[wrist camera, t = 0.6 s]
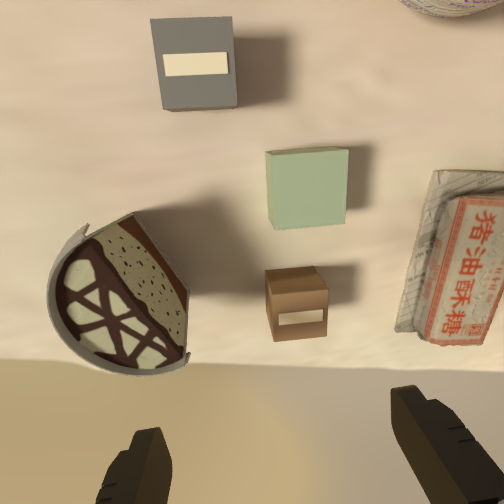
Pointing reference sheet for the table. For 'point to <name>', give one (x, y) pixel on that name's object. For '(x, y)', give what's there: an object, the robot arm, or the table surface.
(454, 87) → the table surface
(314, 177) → the plain sage block
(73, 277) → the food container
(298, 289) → the walnut striped block
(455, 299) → the packaged product
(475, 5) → the paper bowls
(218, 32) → the charcoal striped block
